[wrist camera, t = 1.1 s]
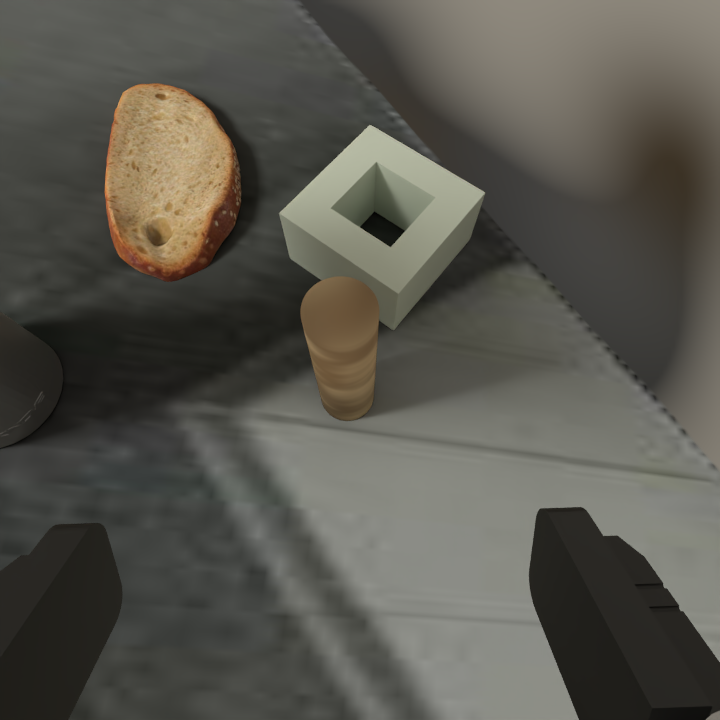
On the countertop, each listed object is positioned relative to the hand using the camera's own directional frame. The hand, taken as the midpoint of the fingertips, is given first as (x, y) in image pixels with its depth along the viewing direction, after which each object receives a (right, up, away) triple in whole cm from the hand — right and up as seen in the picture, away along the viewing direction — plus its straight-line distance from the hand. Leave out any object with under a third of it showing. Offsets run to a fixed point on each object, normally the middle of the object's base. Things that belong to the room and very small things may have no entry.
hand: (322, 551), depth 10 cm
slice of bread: (-17, +20, +37) cm, 46 cm away
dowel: (0, +1, +29) cm, 29 cm away
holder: (+3, +13, +34) cm, 37 cm away
